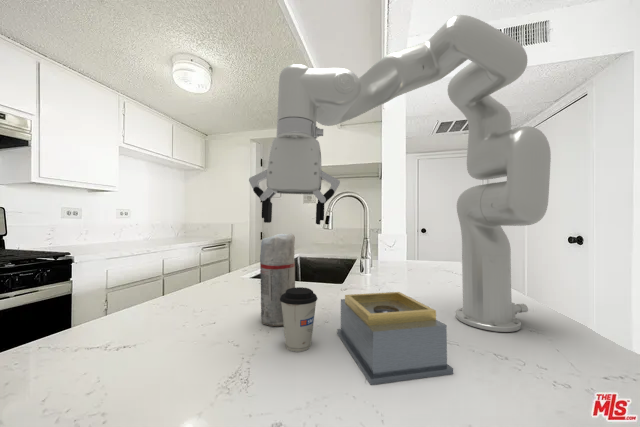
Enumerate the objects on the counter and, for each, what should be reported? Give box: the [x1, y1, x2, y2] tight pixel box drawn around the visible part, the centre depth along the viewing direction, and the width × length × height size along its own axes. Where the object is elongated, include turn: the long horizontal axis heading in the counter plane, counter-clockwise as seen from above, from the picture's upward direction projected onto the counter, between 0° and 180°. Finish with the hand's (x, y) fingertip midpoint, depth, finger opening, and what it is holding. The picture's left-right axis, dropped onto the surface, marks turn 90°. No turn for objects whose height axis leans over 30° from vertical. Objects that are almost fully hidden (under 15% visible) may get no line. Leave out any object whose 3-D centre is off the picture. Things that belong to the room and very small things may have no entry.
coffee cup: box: [280, 286, 319, 353], centre depth 48 cm, size 7×7×10 cm
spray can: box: [259, 233, 296, 327], centre depth 60 cm, size 8×8×20 cm
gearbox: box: [336, 291, 454, 386], centre depth 46 cm, size 17×15×8 cm
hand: (292, 223), depth 49 cm, fingers open, 9 cm apart
